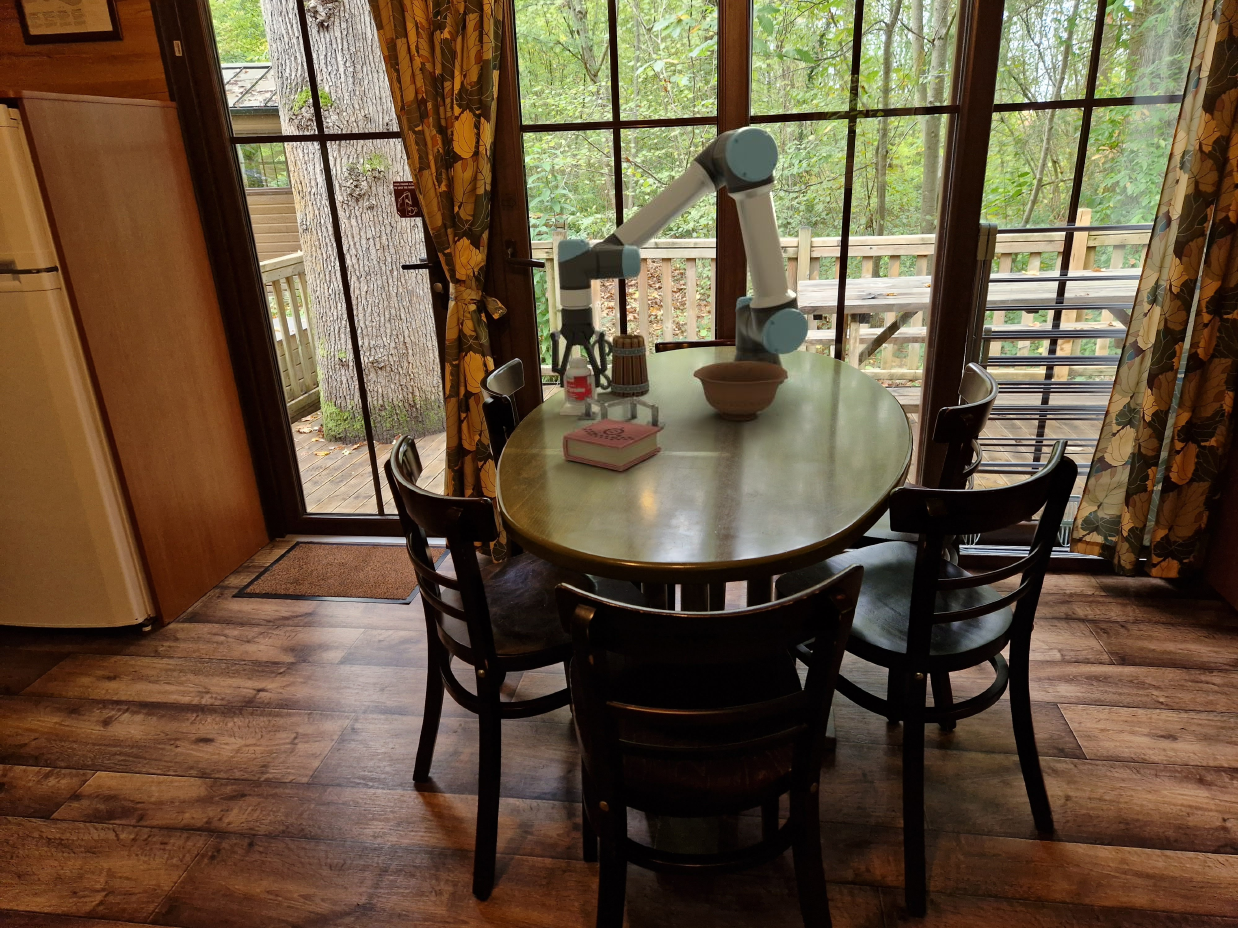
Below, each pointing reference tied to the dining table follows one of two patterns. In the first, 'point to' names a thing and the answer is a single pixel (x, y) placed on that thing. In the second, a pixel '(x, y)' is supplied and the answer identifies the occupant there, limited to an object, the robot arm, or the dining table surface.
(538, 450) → the dining table surface
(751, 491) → the dining table surface
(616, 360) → the mug
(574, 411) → the pad
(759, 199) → the robot arm
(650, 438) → the book
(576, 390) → the pill bottle
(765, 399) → the bowl
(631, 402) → the jointed bar linkage
